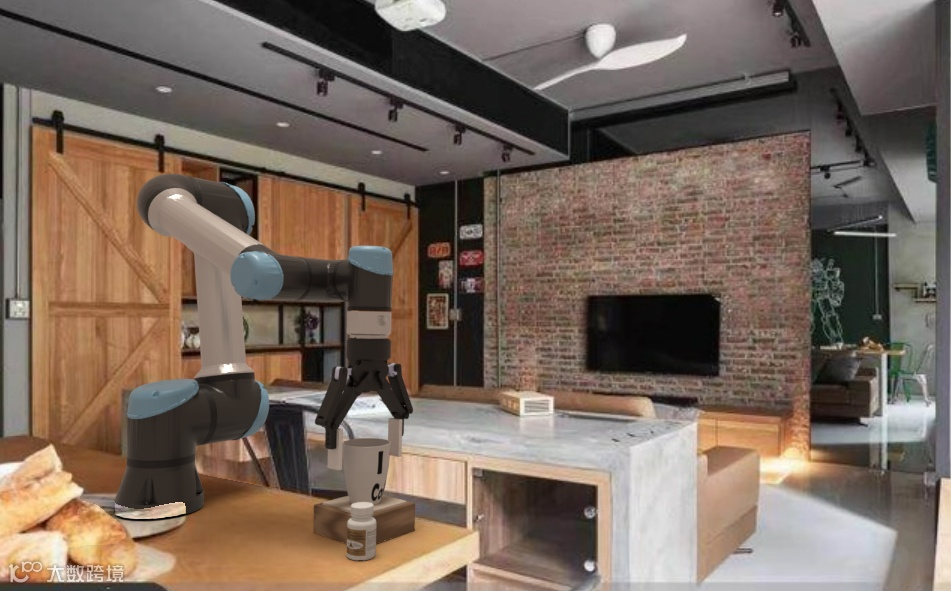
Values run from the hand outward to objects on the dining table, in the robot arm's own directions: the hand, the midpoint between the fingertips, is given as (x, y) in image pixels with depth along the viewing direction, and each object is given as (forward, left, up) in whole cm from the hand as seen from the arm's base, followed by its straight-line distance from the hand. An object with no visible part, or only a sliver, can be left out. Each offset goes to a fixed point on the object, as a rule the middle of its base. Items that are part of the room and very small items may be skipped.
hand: (366, 462), depth 112 cm
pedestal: (0, 0, -12) cm, 12 cm away
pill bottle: (+8, -8, -12) cm, 16 cm away
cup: (0, 0, -7) cm, 7 cm away
